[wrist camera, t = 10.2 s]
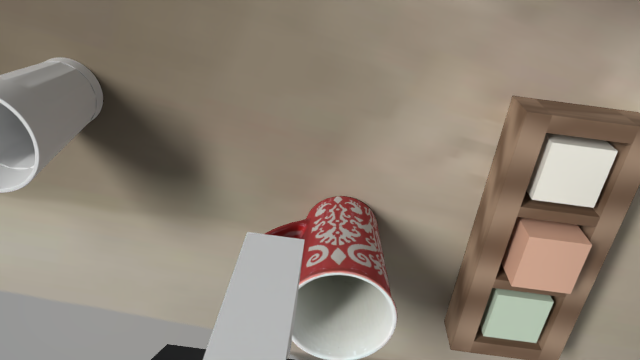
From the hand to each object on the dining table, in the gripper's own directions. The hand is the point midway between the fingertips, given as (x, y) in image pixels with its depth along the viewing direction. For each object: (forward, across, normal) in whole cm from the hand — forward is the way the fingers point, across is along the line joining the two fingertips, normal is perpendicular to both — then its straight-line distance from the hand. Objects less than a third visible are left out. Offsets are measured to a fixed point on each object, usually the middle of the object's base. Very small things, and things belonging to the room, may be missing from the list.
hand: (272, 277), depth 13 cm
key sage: (+32, +22, -24) cm, 46 cm away
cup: (+33, -23, -8) cm, 41 cm away
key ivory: (+32, +22, -8) cm, 40 cm away
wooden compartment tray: (+32, +22, -16) cm, 42 cm away
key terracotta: (+30, +22, -16) cm, 41 cm away
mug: (+33, +2, -18) cm, 37 cm away
